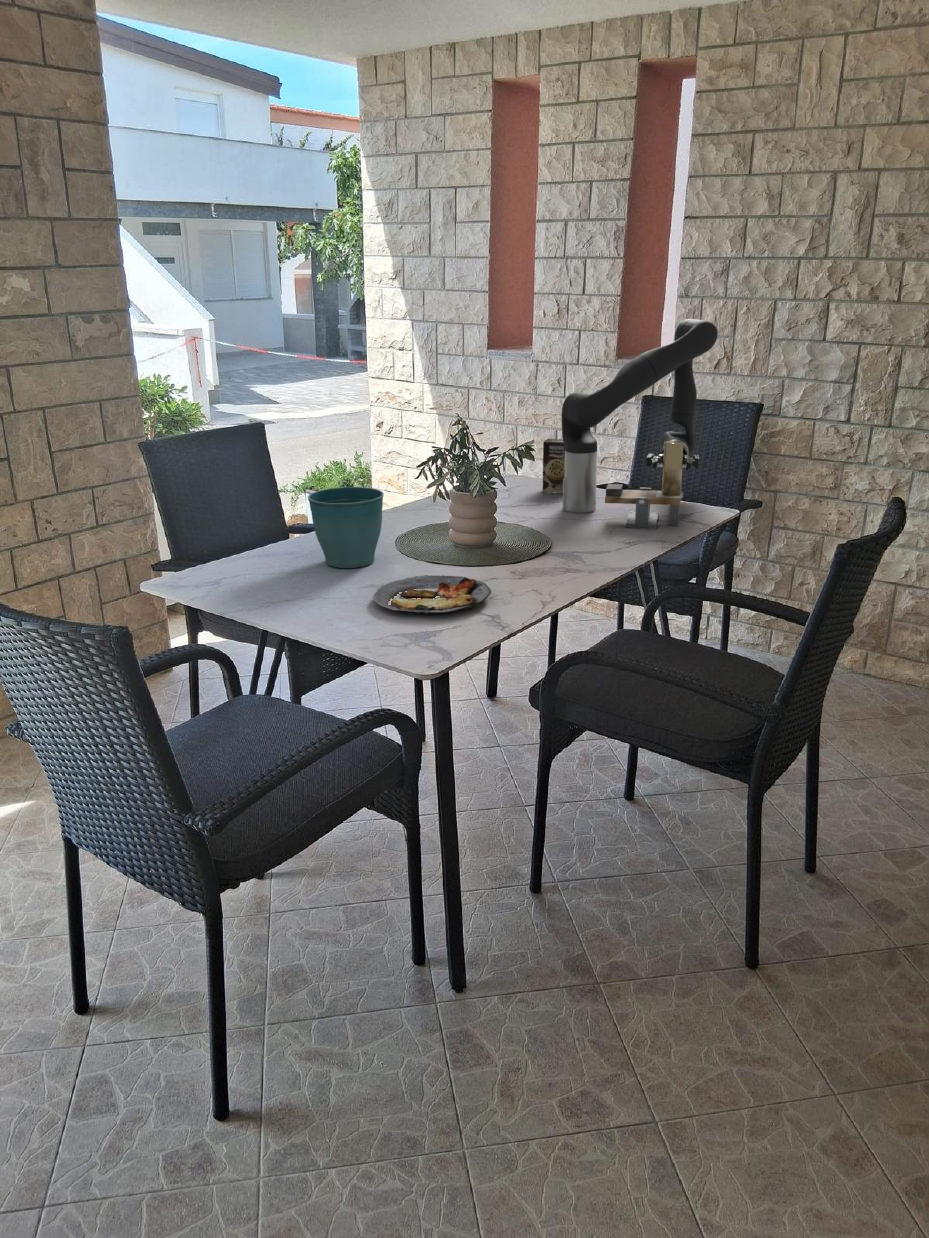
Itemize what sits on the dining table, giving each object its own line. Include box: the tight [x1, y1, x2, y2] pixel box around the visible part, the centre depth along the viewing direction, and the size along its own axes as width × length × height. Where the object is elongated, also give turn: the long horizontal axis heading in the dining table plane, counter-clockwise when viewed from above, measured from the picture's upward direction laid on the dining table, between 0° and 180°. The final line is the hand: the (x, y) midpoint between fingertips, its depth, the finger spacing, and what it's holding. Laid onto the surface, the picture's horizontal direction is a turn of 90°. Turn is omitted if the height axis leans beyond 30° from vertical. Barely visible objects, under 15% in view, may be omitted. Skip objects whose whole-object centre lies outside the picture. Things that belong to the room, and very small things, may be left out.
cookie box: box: [542, 438, 565, 494], centre depth 293 cm, size 9×6×16 cm
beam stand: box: [625, 487, 681, 530], centre depth 257 cm, size 14×14×8 cm
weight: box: [661, 441, 683, 496], centre depth 252 cm, size 5×5×14 cm
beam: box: [604, 483, 684, 506], centre depth 256 cm, size 20×10×4 cm, turn 75°
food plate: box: [372, 574, 492, 614], centre depth 202 cm, size 25×23×4 cm
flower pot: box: [307, 486, 384, 569], centre depth 227 cm, size 18×18×17 cm
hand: (671, 465), depth 253 cm, fingers open, 8 cm apart
